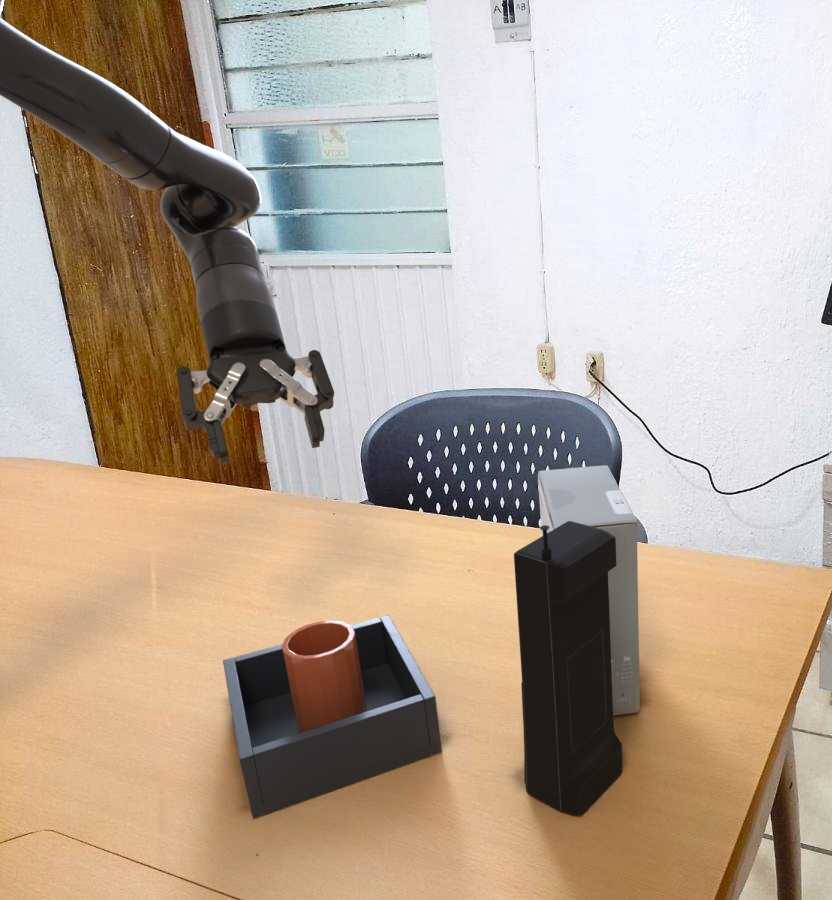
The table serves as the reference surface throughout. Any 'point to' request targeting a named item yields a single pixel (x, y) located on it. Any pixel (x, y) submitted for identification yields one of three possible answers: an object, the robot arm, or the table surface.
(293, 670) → the pot
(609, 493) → the hard drive box
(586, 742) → the portable radio
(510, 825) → the table surface
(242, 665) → the open box
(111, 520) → the table surface
